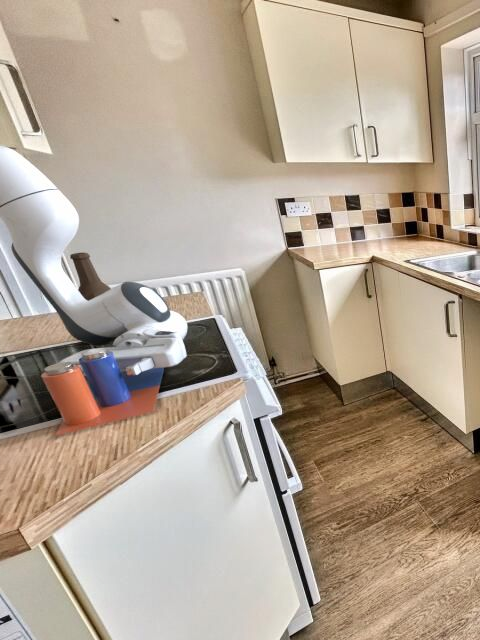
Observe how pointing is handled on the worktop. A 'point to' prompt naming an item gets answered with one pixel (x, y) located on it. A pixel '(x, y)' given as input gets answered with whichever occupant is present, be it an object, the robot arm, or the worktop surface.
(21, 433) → the worktop surface
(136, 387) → the sorting board
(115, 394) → the blue shaker
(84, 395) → the terracotta shaker
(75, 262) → the beer bottle
